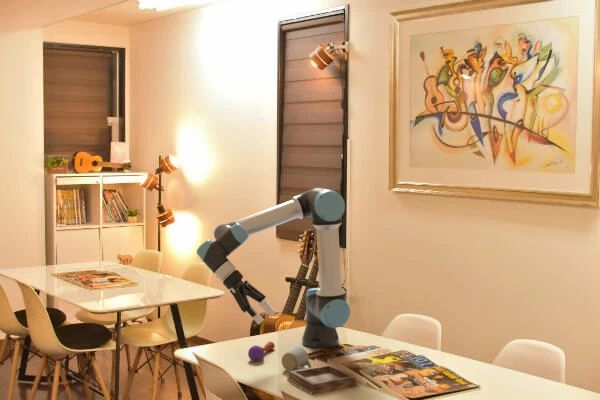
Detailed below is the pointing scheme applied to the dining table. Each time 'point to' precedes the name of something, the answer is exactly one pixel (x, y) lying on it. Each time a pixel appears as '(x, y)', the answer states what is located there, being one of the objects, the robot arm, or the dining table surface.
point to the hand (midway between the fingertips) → (267, 318)
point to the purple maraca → (259, 351)
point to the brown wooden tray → (322, 379)
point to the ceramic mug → (295, 359)
